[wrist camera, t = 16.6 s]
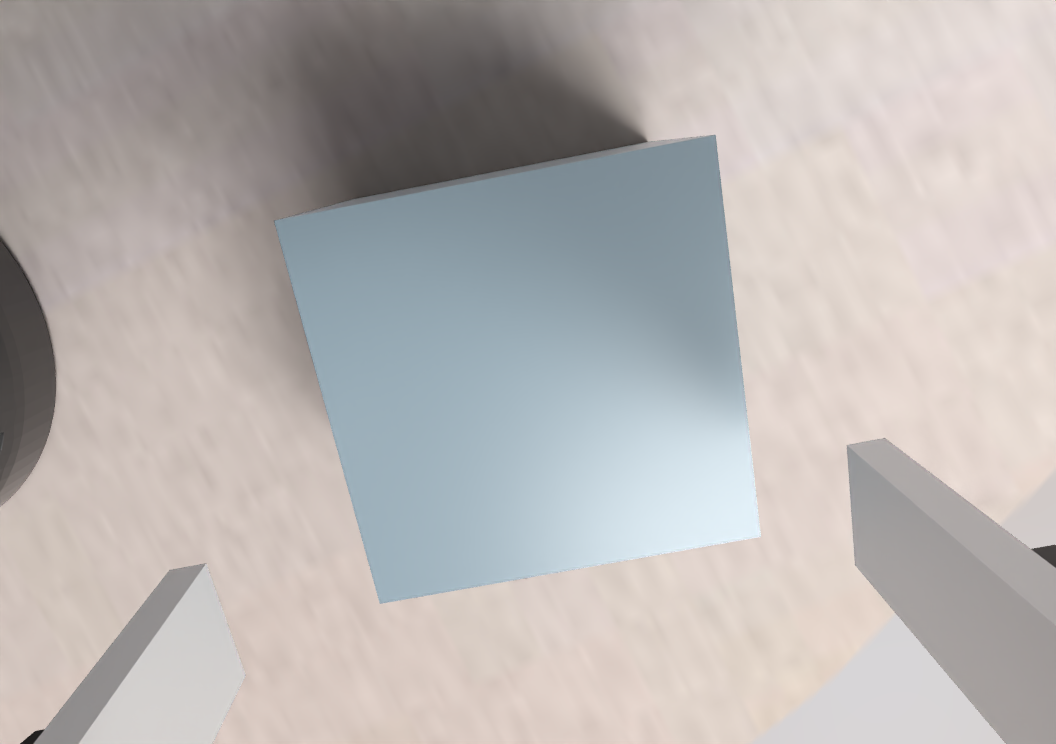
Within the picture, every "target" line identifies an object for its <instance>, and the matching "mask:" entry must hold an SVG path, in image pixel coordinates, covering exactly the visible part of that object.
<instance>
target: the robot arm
mask: <svg viewBox="0 0 1056 744" xmlns="http://www.w3.org/2000/svg"><path fill="white" fill-rule="evenodd" d="M55 394H56V377H55V365H54V357H53V352H52V346H51V342H50V338H49V334H48V330H47V327H46V324H45V321H44V318H43V315H42V312H41V309H40V307H39V305H38V302H37V300H36V297H35V295H34V293H33V291H32V289H31V287H30V285H29V283H28V281H27V280H26V278H25V276H24V275H23V273H22V271H21V269H20V268H19V266H18V265H17V263H16V262H15V260H14V259H13V257H12V256H11V254H10V253H9V251H8V250H7V249H6V247H5V246H4V245H3V244H2V242H1V241H0V507H1V506H2V505H3V504H4V503H5V502H6V501H8V500H9V499H10V498H11V497H12V496H13V495H14V494H15V493H16V491H17V490H18V489H19V488H20V487H21V486H22V484H23V483H24V482H25V481H26V479H27V478H28V476H29V475H30V473H31V472H32V470H33V469H34V467H35V465H36V463H37V462H38V460H39V458H40V456H41V453H42V451H43V449H44V447H45V444H46V441H47V438H48V435H49V432H50V428H51V424H52V419H53V413H54V407H55ZM847 455H848V469H849V484H850V499H851V513H852V528H853V543H854V558H855V566H856V567H857V568H858V569H859V570H860V572H861V573H862V574H863V575H864V576H865V577H866V579H867V580H868V581H869V582H870V583H871V585H872V586H873V587H874V588H875V589H876V590H877V592H878V593H879V594H880V595H881V596H882V598H883V599H884V600H885V601H886V602H887V603H888V605H889V606H890V607H891V608H892V609H893V611H894V612H895V613H896V614H897V615H898V617H899V618H900V619H901V620H902V621H903V622H904V624H905V625H906V626H907V627H908V628H909V629H910V630H911V632H912V633H913V634H914V635H915V636H916V638H917V639H918V640H919V641H920V642H921V644H922V645H923V646H924V647H925V648H926V649H927V651H928V652H929V653H930V654H931V656H932V657H933V658H934V659H935V660H936V661H937V663H938V664H939V665H940V666H941V667H942V668H943V670H944V671H945V672H946V673H947V674H948V676H949V677H950V678H951V679H952V680H953V681H954V683H955V684H956V685H957V686H958V688H959V689H960V690H961V691H962V692H963V693H964V695H965V696H966V697H967V698H968V699H969V701H970V702H971V703H972V704H973V705H974V706H975V708H976V709H977V710H978V711H979V712H980V714H981V715H982V716H983V717H984V718H985V720H986V721H987V722H988V723H989V724H990V725H991V727H992V728H993V729H994V730H995V731H996V733H997V734H998V735H999V736H1000V737H1001V738H1002V740H1003V741H1004V742H1005V743H1006V744H1056V545H1051V546H1045V547H1040V548H1034V549H1030V548H1028V547H1027V546H1026V545H1025V544H1023V543H1022V542H1021V541H1020V540H1018V539H1017V538H1016V537H1014V536H1013V535H1012V534H1010V533H1009V532H1008V531H1006V530H1005V529H1004V528H1002V527H1001V526H1000V525H998V524H997V523H996V522H995V521H993V520H992V519H991V518H989V517H988V516H987V515H985V514H984V513H983V512H981V511H980V510H979V509H977V508H976V507H975V506H973V505H972V504H971V503H970V502H968V501H967V500H966V499H964V498H963V497H962V496H960V495H959V494H958V493H956V492H955V491H954V490H952V489H951V488H950V487H949V486H947V485H946V484H945V483H943V482H942V481H941V480H939V479H938V478H937V477H935V476H934V475H933V474H931V473H930V472H929V471H927V470H926V469H925V468H924V467H922V466H921V465H920V464H918V463H917V462H916V461H914V460H913V459H912V458H910V457H909V456H908V455H906V454H905V453H904V452H903V451H901V450H900V449H899V448H897V447H896V446H895V445H893V444H892V443H891V442H889V441H888V440H887V439H885V438H883V439H878V440H872V441H867V442H861V443H856V444H851V445H847ZM245 676H246V675H245V672H244V669H243V666H242V663H241V660H240V658H239V655H238V652H237V649H236V646H235V643H234V641H233V638H232V635H231V632H230V629H229V626H228V624H227V621H226V618H225V615H224V612H223V609H222V606H221V604H220V601H219V598H218V595H217V592H216V589H215V587H214V584H213V581H212V578H211V575H210V572H209V570H208V567H207V564H200V565H195V566H189V567H184V568H178V569H173V570H169V572H168V573H167V574H166V575H165V577H164V578H163V579H162V581H161V582H160V583H159V584H158V586H157V587H156V588H155V589H154V591H153V592H152V593H151V595H150V596H149V597H148V598H147V600H146V601H145V602H144V603H143V605H142V606H141V607H140V609H139V610H138V611H137V612H136V614H135V615H134V616H133V618H132V619H131V620H130V621H129V623H128V624H127V625H126V626H125V628H124V629H123V630H122V632H121V633H120V634H119V635H118V637H117V638H116V639H115V640H114V642H113V643H112V644H111V646H110V647H109V648H108V649H107V651H106V652H105V653H104V655H103V656H102V657H101V658H100V660H99V661H98V662H97V663H96V665H95V666H94V667H93V669H92V670H91V671H90V672H89V674H88V675H87V676H86V677H85V679H84V680H83V681H82V683H81V684H80V685H79V686H78V688H77V689H76V690H75V692H74V693H73V694H72V695H71V697H70V698H69V699H68V700H67V702H66V703H65V704H64V706H63V707H62V708H61V709H60V711H59V712H58V713H57V714H56V716H55V717H54V718H53V720H52V721H51V722H50V723H49V725H48V726H47V727H46V728H45V729H44V730H39V731H35V732H34V733H33V734H31V735H30V736H29V737H28V738H27V739H25V740H24V741H23V742H22V743H20V744H213V742H214V740H215V738H216V736H217V734H218V732H219V730H220V727H221V725H222V723H223V721H224V719H225V717H226V715H227V713H228V711H229V709H230V707H231V705H232V703H233V701H234V699H235V696H236V694H237V692H238V690H239V688H240V686H241V684H242V682H243V680H244V678H245Z"/></svg>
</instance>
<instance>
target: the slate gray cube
mask: <svg viewBox="0 0 1056 744" xmlns="http://www.w3.org/2000/svg"><path fill="white" fill-rule="evenodd" d="M274 222H275V226H276V230H277V233H278V237H279V241H280V244H281V248H282V251H283V255H284V259H285V262H286V266H287V269H288V273H289V277H290V280H291V284H292V288H293V291H294V295H295V298H296V302H297V306H298V309H299V313H300V316H301V320H302V324H303V327H304V331H305V335H306V338H307V342H308V345H309V349H310V353H311V356H312V360H313V363H314V367H315V371H316V374H317V378H318V382H319V385H320V389H321V392H322V396H323V400H324V403H325V407H326V410H327V414H328V418H329V421H330V425H331V429H332V432H333V436H334V439H335V443H336V447H337V450H338V454H339V457H340V461H341V465H342V468H343V472H344V476H345V479H346V483H347V486H348V490H349V494H350V497H351V501H352V504H353V508H354V512H355V515H356V519H357V523H358V526H359V530H360V533H361V537H362V541H363V544H364V548H365V551H366V555H367V559H368V562H369V566H370V570H371V573H372V577H373V580H374V584H375V588H376V591H377V595H378V598H379V602H380V604H381V603H387V602H393V601H398V600H404V599H410V598H415V597H421V596H427V595H433V594H438V593H444V592H450V591H455V590H461V589H467V588H472V587H478V586H484V585H489V584H495V583H501V582H506V581H512V580H518V579H523V578H529V577H535V576H541V575H546V574H552V573H558V572H563V571H569V570H575V569H580V568H586V567H592V566H597V565H603V564H609V563H614V562H620V561H626V560H631V559H637V558H643V557H649V556H654V555H660V554H666V553H671V552H677V551H683V550H688V549H694V548H700V547H705V546H711V545H717V544H722V543H728V542H734V541H739V540H745V539H751V538H757V537H761V534H760V525H759V516H758V507H757V498H756V489H755V480H754V472H753V463H752V454H751V445H750V436H749V427H748V418H747V410H746V401H745V392H744V383H743V374H742V365H741V356H740V347H739V339H738V330H737V321H736V312H735V303H734V294H733V285H732V277H731V268H730V259H729V250H728V241H727V232H726V223H725V215H724V206H723V197H722V188H721V179H720V170H719V161H718V153H717V144H716V135H709V136H700V137H690V138H680V139H670V140H661V141H651V142H645V143H640V144H634V145H629V146H624V147H619V148H614V149H609V150H604V151H598V152H593V153H588V154H583V155H578V156H573V157H568V158H562V159H557V160H552V161H547V162H542V163H537V164H532V165H526V166H521V167H516V168H511V169H506V170H501V171H496V172H490V173H485V174H480V175H475V176H470V177H465V178H460V179H455V180H449V181H444V182H439V183H434V184H429V185H424V186H419V187H413V188H408V189H403V190H398V191H393V192H388V193H383V194H377V195H372V196H367V197H362V198H357V199H352V200H348V201H345V202H341V203H337V204H334V205H330V206H326V207H323V208H319V209H315V210H311V211H308V212H304V213H300V214H297V215H293V216H289V217H286V218H282V219H278V220H275V221H274Z"/></svg>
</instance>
